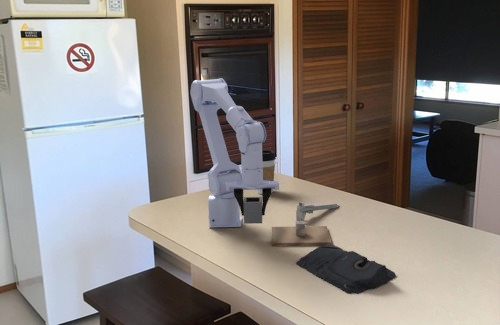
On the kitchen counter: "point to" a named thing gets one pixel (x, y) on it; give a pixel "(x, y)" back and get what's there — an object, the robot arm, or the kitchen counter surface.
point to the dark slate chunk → (345, 269)
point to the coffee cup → (268, 167)
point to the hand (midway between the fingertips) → (253, 214)
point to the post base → (300, 235)
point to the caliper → (311, 209)
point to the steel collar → (252, 210)
